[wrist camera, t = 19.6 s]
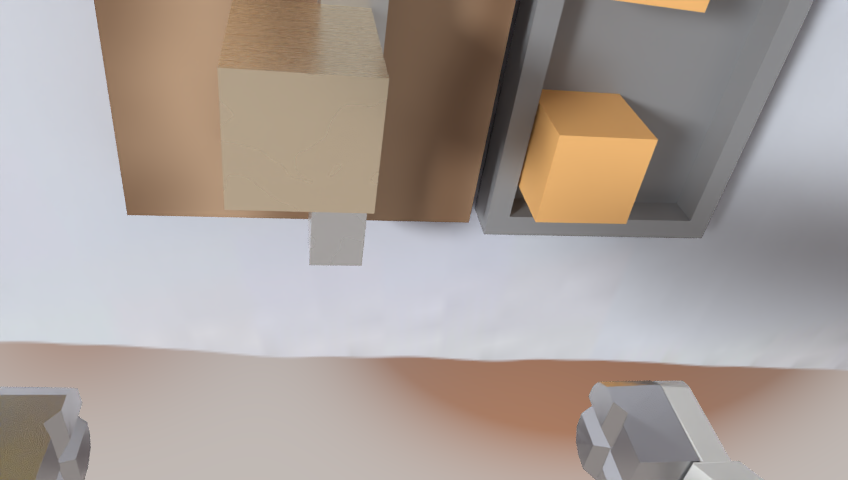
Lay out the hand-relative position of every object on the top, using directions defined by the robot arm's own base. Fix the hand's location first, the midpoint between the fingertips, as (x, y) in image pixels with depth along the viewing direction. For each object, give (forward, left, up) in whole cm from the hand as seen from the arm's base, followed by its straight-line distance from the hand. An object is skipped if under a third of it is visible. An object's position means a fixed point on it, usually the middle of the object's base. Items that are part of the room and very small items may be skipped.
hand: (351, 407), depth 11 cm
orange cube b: (-11, +4, -18) cm, 22 cm away
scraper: (+1, 0, -16) cm, 16 cm away
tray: (-13, 0, -19) cm, 23 cm away
